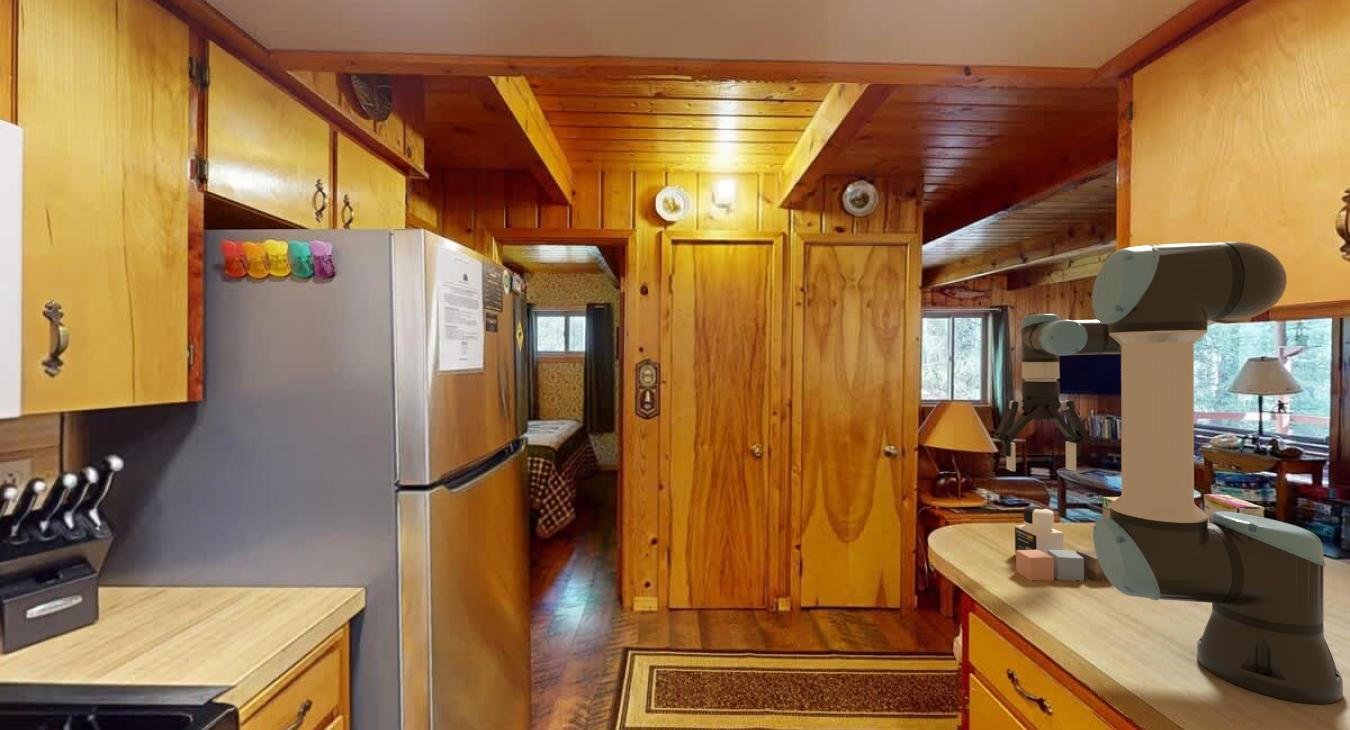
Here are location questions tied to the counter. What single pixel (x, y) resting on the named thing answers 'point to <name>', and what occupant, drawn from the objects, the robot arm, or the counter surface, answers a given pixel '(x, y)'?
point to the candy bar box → (1230, 506)
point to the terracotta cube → (1035, 565)
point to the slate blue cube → (1067, 565)
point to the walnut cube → (1092, 565)
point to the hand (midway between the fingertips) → (1040, 470)
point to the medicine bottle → (1038, 531)
